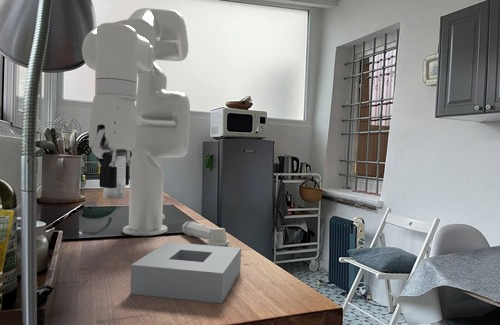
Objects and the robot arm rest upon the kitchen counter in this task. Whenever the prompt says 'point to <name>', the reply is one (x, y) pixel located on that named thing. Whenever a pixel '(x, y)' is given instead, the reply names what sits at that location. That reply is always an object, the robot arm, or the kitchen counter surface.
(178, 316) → the kitchen counter surface
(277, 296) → the kitchen counter surface
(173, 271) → the socket block
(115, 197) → the cylinder
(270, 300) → the kitchen counter surface
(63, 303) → the kitchen counter surface
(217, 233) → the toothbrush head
